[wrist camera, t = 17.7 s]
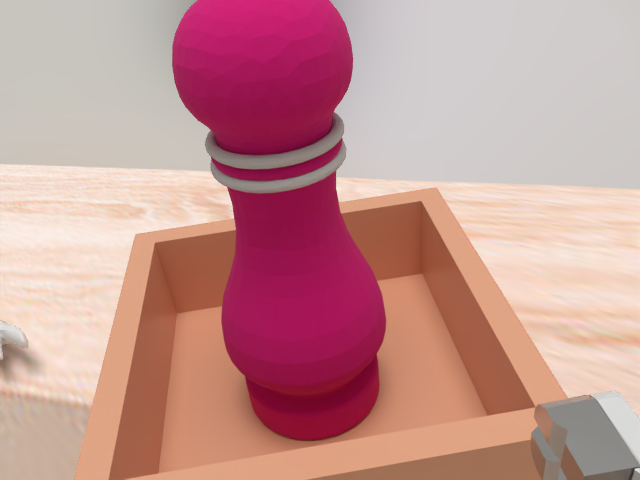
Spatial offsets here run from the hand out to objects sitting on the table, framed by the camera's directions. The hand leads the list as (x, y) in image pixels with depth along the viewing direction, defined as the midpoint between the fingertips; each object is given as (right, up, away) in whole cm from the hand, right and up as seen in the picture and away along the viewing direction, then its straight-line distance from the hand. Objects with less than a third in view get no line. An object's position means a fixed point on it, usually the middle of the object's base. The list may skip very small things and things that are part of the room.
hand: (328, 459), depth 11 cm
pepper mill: (0, -3, +17) cm, 18 cm away
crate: (0, -4, +18) cm, 18 cm away
